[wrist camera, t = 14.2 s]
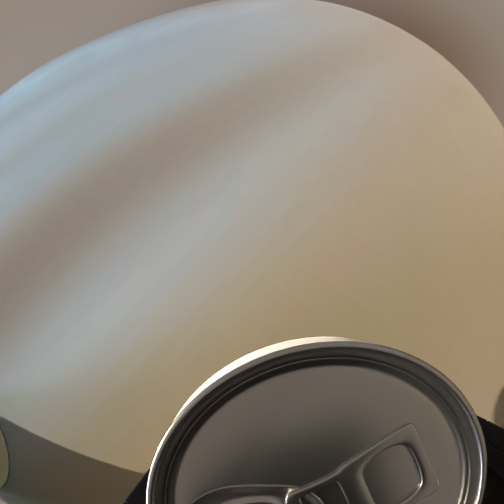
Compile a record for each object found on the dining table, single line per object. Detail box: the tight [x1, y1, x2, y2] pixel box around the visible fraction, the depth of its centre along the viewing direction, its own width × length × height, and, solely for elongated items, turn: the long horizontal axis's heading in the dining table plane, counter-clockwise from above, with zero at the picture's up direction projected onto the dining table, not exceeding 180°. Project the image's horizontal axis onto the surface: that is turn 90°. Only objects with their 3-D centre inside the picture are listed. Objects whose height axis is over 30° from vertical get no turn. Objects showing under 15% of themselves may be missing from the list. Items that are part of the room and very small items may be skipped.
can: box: [146, 337, 487, 504], centre depth 9 cm, size 6×6×12 cm
